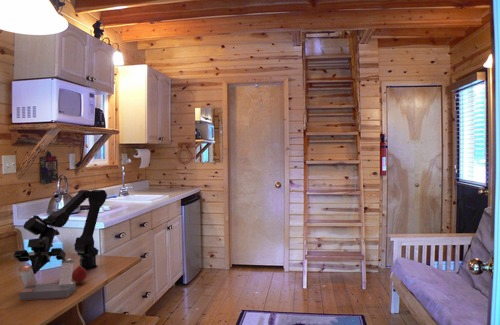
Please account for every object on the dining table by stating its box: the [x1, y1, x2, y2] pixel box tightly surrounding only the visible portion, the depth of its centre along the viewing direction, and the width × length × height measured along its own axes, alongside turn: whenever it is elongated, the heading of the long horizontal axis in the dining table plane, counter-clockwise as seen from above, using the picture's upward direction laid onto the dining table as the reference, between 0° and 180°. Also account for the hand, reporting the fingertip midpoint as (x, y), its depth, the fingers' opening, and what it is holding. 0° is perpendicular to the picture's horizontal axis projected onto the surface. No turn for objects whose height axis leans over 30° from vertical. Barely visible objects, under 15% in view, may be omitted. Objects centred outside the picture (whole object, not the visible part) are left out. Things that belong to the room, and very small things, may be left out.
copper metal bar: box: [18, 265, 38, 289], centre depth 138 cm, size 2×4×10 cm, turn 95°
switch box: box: [18, 281, 77, 301], centre depth 140 cm, size 8×18×3 cm, turn 95°
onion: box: [72, 264, 88, 284], centre depth 152 cm, size 6×6×8 cm
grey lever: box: [58, 258, 75, 285], centre depth 142 cm, size 2×4×10 cm, turn 94°
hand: (33, 274), depth 141 cm, fingers closed
